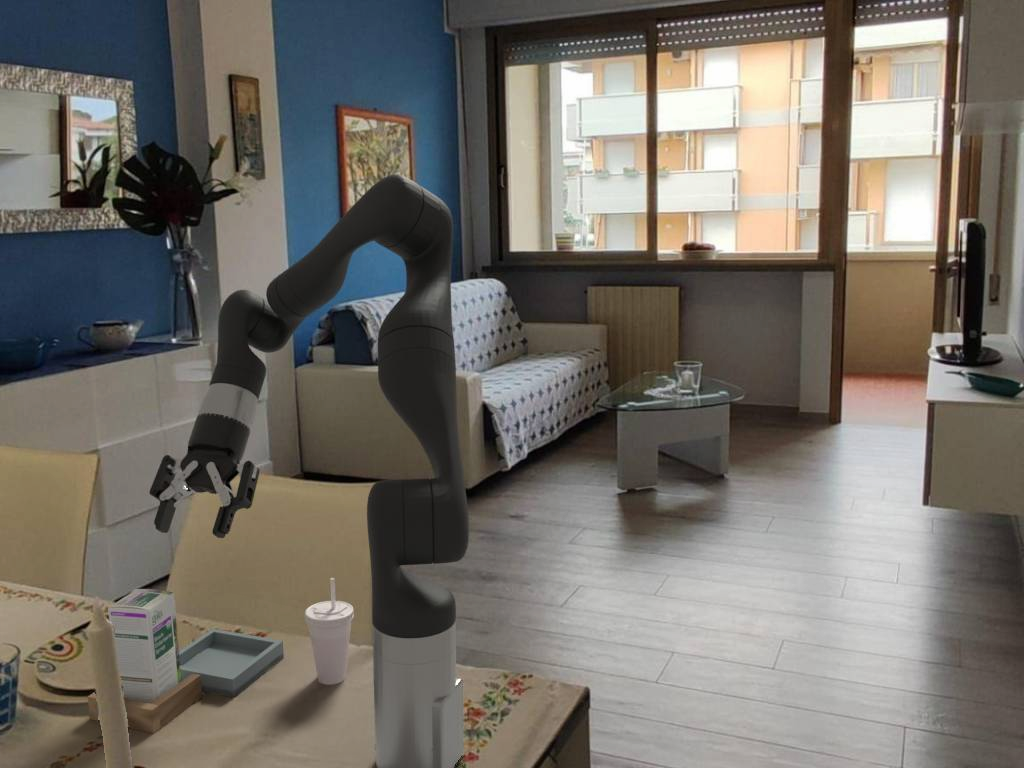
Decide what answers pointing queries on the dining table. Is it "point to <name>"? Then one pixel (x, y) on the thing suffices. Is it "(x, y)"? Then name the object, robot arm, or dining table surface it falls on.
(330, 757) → the dining table surface
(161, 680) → the syrup box
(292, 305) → the robot arm
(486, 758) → the dining table surface
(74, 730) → the dining table surface
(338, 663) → the smoothie
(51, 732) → the dining table surface
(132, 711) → the holder
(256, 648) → the tray
